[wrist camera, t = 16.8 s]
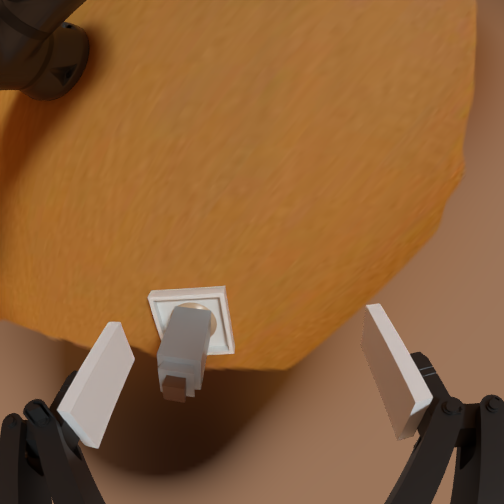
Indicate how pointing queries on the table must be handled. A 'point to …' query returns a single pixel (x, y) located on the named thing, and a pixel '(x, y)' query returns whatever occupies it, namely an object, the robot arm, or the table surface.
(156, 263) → the table surface
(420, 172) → the table surface
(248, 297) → the table surface
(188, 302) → the tray
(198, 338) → the perfume bottle
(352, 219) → the table surface
